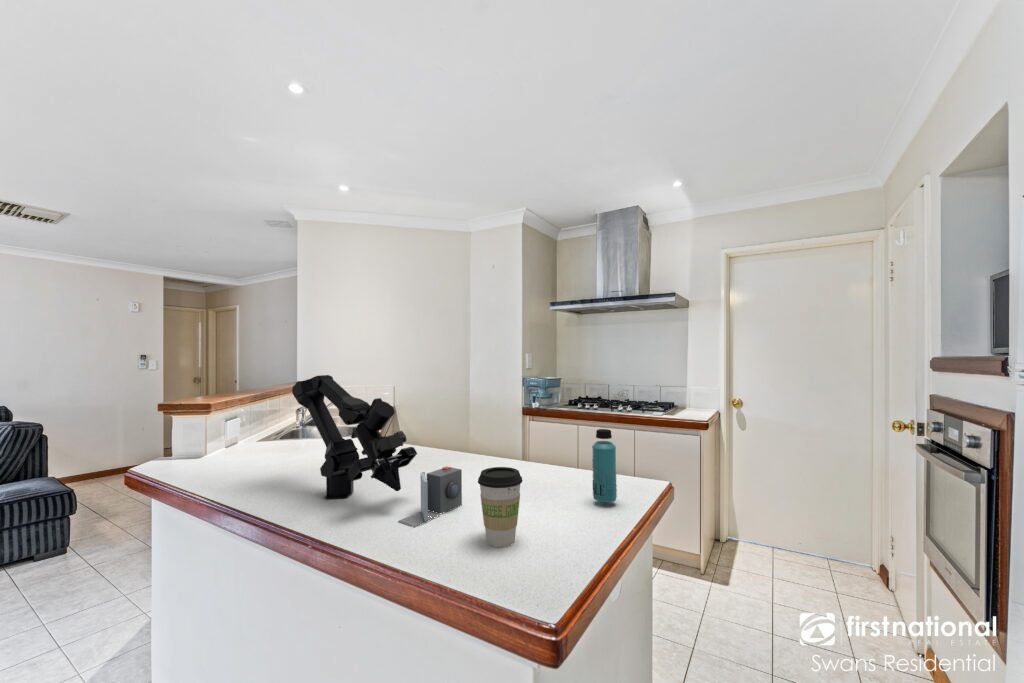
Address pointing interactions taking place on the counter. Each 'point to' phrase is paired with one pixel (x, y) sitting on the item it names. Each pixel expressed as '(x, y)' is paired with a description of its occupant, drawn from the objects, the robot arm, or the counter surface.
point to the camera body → (440, 494)
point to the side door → (424, 496)
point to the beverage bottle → (604, 468)
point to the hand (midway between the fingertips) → (398, 490)
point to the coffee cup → (500, 504)
